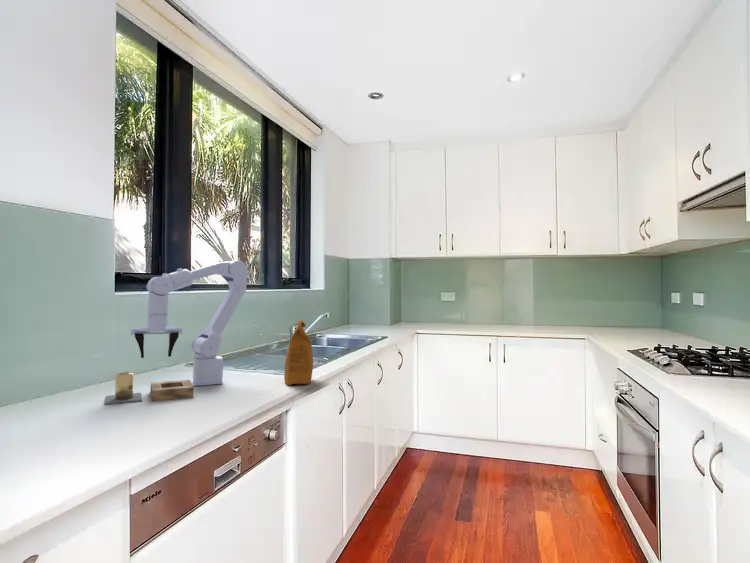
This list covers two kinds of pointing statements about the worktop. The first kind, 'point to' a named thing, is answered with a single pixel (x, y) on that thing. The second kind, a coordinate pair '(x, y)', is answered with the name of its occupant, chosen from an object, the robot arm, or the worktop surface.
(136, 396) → the mat
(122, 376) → the end cover
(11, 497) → the worktop surface
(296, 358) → the coffee package
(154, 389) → the housing
